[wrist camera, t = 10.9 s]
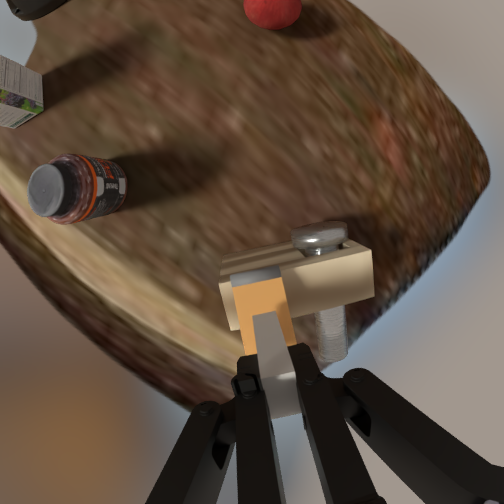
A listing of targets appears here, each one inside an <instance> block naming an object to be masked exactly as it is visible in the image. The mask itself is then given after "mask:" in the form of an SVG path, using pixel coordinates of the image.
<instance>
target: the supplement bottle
mask: <svg viewBox="0 0 504 504" xmlns="http://www.w3.org/2000/svg"><path fill="white" fill-rule="evenodd" d="M126 194H127V178H126V175H125V173H124V171H123V170H122V168H121V167H120V166H119V165H118V164H116V163H115V162H112V161H110V160H106V159H100V158H94V157H88V156H83V155H76V154H62V155H59V156H57V157H55V158H54V159H52V160H51V161H50V162H49V163H48V164H43V165H41V166H39V167H38V168H37V169H36V170H35V171H34V172H33V174H32V175H31V177H30V180H29V183H28V188H27V196H28V201H29V204H30V207H31V208H32V210H33V211H34V212H35V213H36V214H37V215H39V216H42V217H47V218H49V219H50V220H51V221H53V222H55V223H57V224H72V223H76V222H80V221H84V220H88V219H92V218H96V217H100V216H104V215H108V214H110V213H112V212H114V211H116V210H117V209H118V208H119V207H120V206H121V205H122V203H123V201H124V200H125V197H126Z"/></svg>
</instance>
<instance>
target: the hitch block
mask: <svg viewBox="0 0 504 504" xmlns="http://www.w3.org/2000/svg"><path fill="white" fill-rule="evenodd" d="M338 247H339V250H337V251H332V252H328V253H323V254H319V255H314V256H310V257H306V253H305V249H298V248H295V247H293V244H292V241H288V242H284V243H279V244H274V245H269V246H265V247H260V248H255V249H250V250H246V251H241V252H236V253H232V254H227V255H223V260H222V266H221V272H220V279H219V287H220V291H221V295H222V299H223V303H224V307H225V310H226V314H227V318H228V322H229V326H230V329H231V331H232V330H238V329H240V325H239V320H238V315H237V310H236V305H235V300H234V295H233V290H232V285H231V281H230V275H232V274H237V273H242V272H247V271H251V270H256V269H261V268H265V267H270V266H275V265H279V268H280V272H281V277H282V281H283V286H284V290H285V294H286V299H287V303H288V308H289V312H290V317H291V318H294V317H298V316H302V315H307V314H311V313H315V312H319V311H323V310H327V309H331V308H334V307H338V306H342V305H346V304H349V303H353V302H357V301H360V300H364V299H367V298H371V297H374V278H373V264H372V252H371V250H370V249H368V248H366V247H364V246H362V245H360V244H358V243H356V242H354V241H352V240H350V239H348V240H346V241H345V242H343V243H340V244H338Z"/></svg>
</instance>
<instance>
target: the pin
mask: <svg viewBox="0 0 504 504" xmlns="http://www.w3.org/2000/svg"><path fill="white" fill-rule="evenodd" d="M291 238H292V244H293V247H295V248H298V249H305V253H306V257H310V256H314V255H319V254H323V253H328V252H332V251H337V250H339V247H338V244H340V243H343V242H345V241H346V240H348V238H349V237H348V229H347V223H345V222H342V221H327V222H319V223H313V224H308V225H304V226H301V227H298V228H295V229H293V230H292V231H291ZM314 315H315V322H316V330H317V339H318V347H319V356H320V358H321V359H322V360H323V361H326V362H337V361H340V360H342V359H344V358H345V357H346V356H347V354H348V344H347V328H346V314H345V305H342V306H338V307H334V308H331V309H327V310H323V311H319V312H315V313H314Z"/></svg>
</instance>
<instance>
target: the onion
mask: <svg viewBox="0 0 504 504" xmlns="http://www.w3.org/2000/svg"><path fill="white" fill-rule="evenodd" d="M244 9H245V13H246V16H247V17H248V18H249V20H250V21H251V22H252V23H254V24H255V25H257V26H259V27H260V28H264V29H268V30H279V29H282V28H284V27H287V26H290V25H291V24H292V23H294V22H295V21H296V20H297V19H298V18H299V15H300V12H301V9H302V4H301V0H244Z"/></svg>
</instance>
